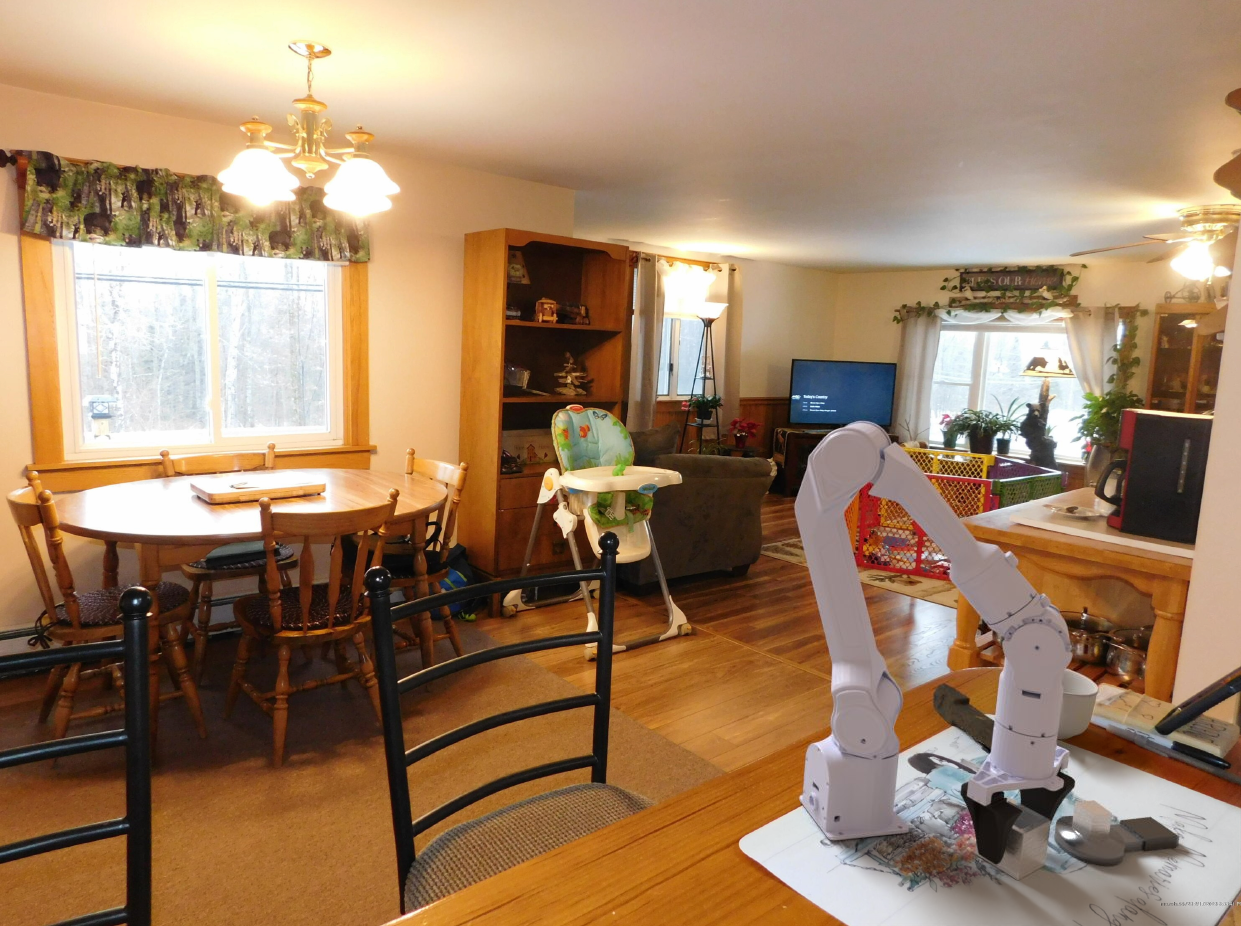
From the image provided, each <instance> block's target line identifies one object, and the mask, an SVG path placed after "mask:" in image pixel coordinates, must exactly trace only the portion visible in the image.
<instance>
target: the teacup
mask: <svg viewBox="0 0 1241 926" xmlns="http://www.w3.org/2000/svg"><path fill="white" fill-rule="evenodd" d="M1064 670H1065V674H1064V679H1063V681H1062V685H1063V698H1062V705H1061V713H1060V721H1059V729H1058V735H1057V740H1067V739H1070V738H1072V737H1075V736H1078V735H1080V734H1082V733H1084V732H1085V731H1086V730H1087V728H1088V727H1089V725H1090V723H1091V720H1092V718H1093V717H1092V716H1093V713H1094V709H1095V705H1096V700H1097V696H1098V693H1099V692H1100V691H1099V690H1100V687H1099V686H1098V685H1097V684H1096V683H1095V682H1094V681H1093V680H1092V679H1091V678H1089V677H1087V676H1086V675H1083V674H1082V673H1079V672H1077V671H1074V670H1071V669H1069V668H1067V667H1066V668H1065V669H1064Z"/></svg>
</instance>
